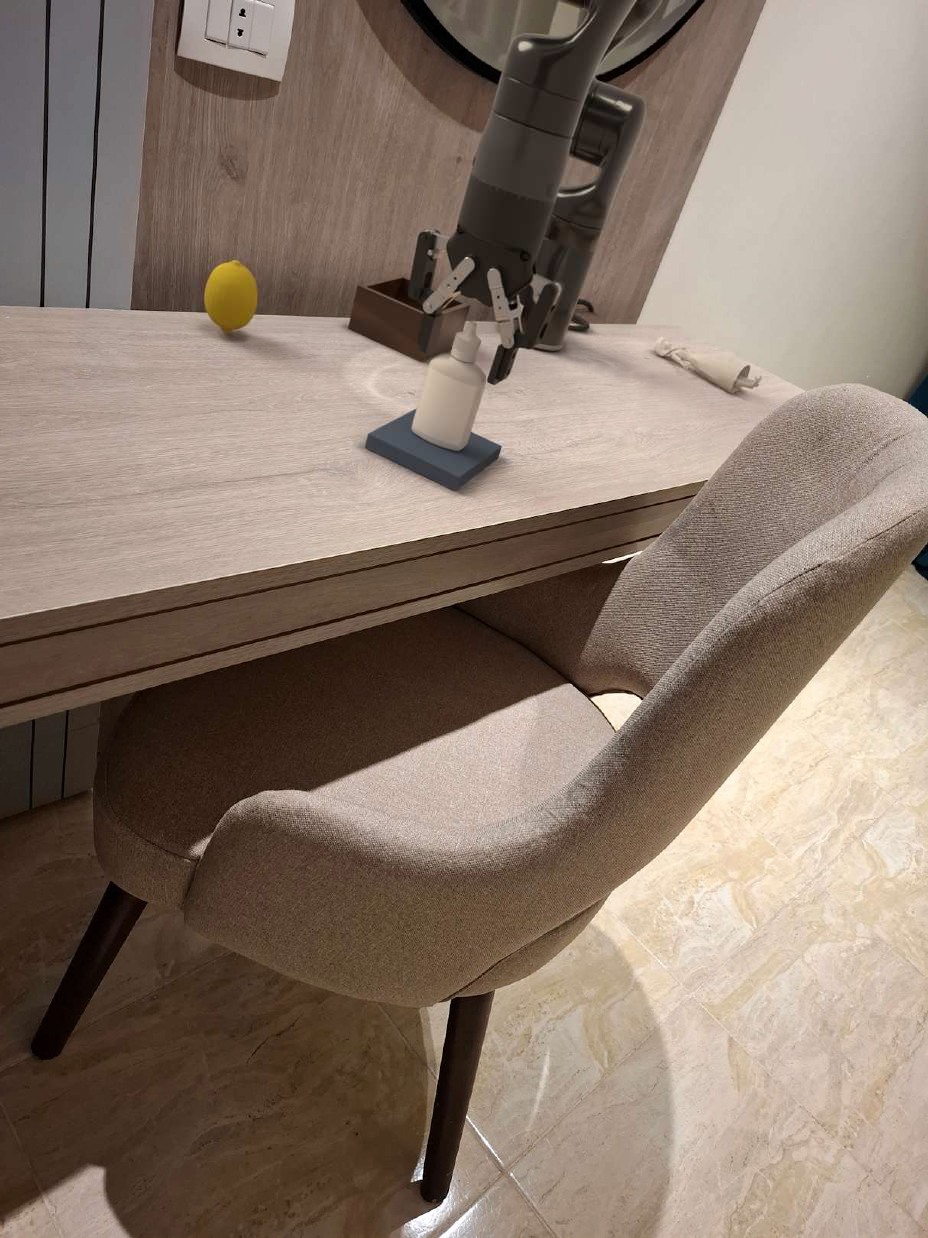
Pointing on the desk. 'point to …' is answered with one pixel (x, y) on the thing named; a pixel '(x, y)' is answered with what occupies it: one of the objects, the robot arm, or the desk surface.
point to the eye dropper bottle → (451, 394)
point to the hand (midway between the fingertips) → (459, 366)
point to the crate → (401, 317)
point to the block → (432, 453)
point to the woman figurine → (710, 367)
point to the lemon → (231, 296)
